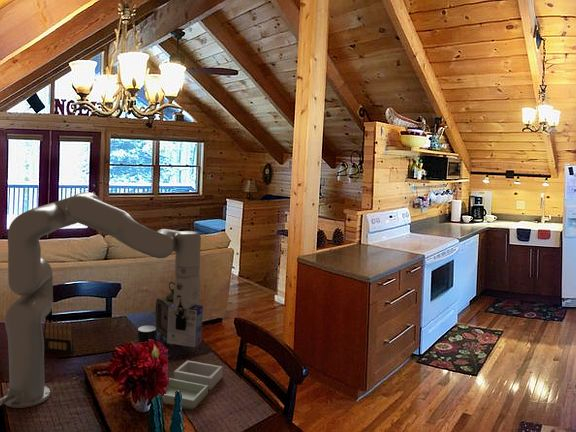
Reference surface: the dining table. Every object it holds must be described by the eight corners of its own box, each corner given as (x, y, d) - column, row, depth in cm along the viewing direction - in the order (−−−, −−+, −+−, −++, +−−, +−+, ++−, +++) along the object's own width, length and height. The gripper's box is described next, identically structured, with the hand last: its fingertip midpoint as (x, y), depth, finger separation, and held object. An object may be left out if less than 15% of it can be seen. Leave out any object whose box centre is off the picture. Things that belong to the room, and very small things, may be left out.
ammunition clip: (44, 350, 184) (43, 320, 183) (47, 348, 186) (46, 318, 184) (70, 353, 183) (70, 322, 181) (73, 351, 185) (73, 321, 183)
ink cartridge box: (202, 341, 157) (204, 298, 155) (196, 348, 151) (197, 303, 149) (173, 337, 158) (175, 294, 156) (166, 343, 153) (167, 299, 151)
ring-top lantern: (155, 337, 202) (156, 279, 199) (175, 333, 208) (176, 276, 204) (169, 349, 191) (170, 287, 188) (190, 345, 196) (192, 285, 193)
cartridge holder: (210, 389, 161) (211, 378, 160) (173, 382, 164) (173, 371, 164) (222, 377, 170) (222, 366, 169) (187, 370, 173) (187, 360, 173)
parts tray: (193, 409, 148) (193, 400, 147) (151, 401, 151) (151, 392, 151) (207, 394, 158) (208, 385, 157) (168, 386, 161) (168, 377, 161)
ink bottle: (133, 355, 184) (133, 325, 182) (156, 352, 187) (157, 322, 186) (136, 366, 175) (136, 334, 173) (161, 363, 179) (161, 331, 177)
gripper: (185, 278, 143) (183, 337, 145) (209, 266, 159) (207, 319, 162) (162, 275, 145) (160, 333, 147) (188, 263, 161) (186, 316, 163)
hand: (185, 325), depth 154 cm, fingers closed on ink cartridge box, 5 cm apart
